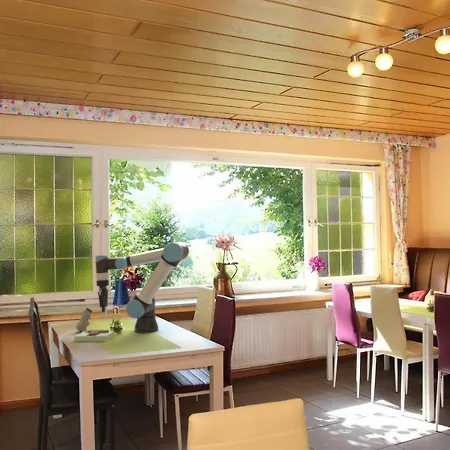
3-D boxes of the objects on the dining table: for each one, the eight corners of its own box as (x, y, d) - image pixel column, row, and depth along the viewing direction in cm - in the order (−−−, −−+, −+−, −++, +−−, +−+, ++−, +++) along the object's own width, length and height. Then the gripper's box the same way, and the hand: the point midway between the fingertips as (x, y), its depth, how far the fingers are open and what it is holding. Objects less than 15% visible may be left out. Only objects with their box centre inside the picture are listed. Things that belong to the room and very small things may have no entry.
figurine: (88, 333, 334) (87, 309, 334) (73, 332, 336) (73, 309, 336) (94, 330, 343) (94, 307, 343) (80, 330, 345) (79, 307, 345)
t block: (108, 336, 323) (108, 329, 323) (101, 340, 311) (101, 333, 311) (89, 336, 324) (89, 329, 324) (82, 340, 312) (82, 333, 312)
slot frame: (114, 336, 322) (114, 331, 322) (105, 341, 307) (105, 336, 307) (84, 336, 324) (84, 331, 324) (74, 341, 310) (74, 336, 310)
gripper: (100, 278, 338) (102, 315, 338) (92, 280, 325) (94, 319, 325) (111, 278, 337) (113, 315, 337) (104, 280, 324) (106, 318, 324)
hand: (104, 317), depth 331 cm, fingers closed
